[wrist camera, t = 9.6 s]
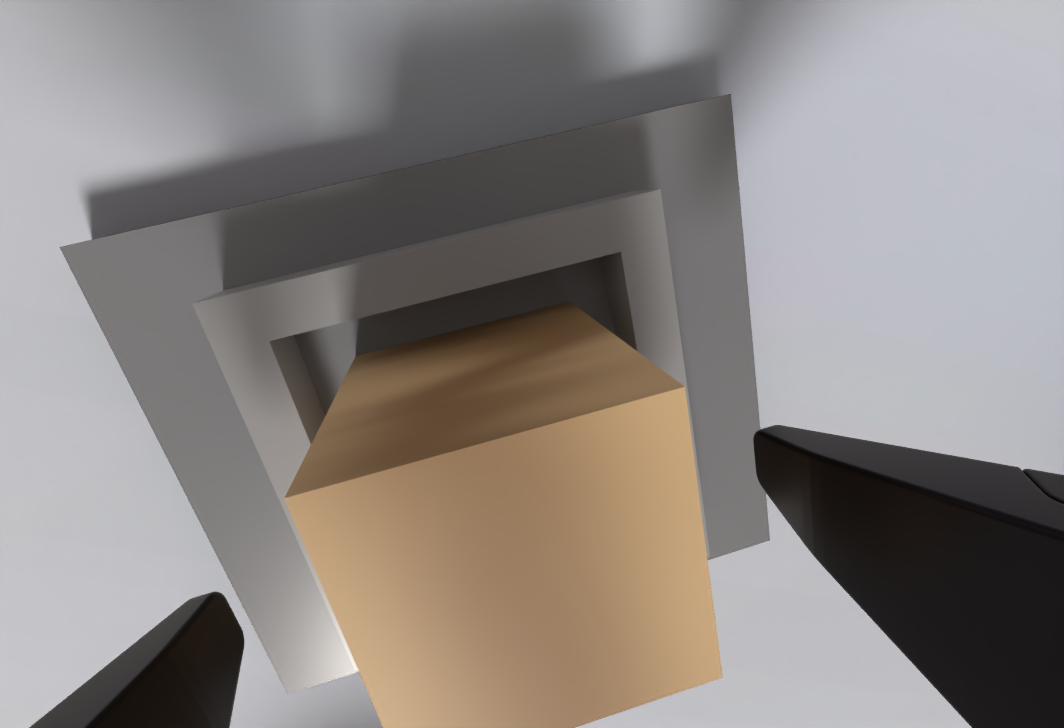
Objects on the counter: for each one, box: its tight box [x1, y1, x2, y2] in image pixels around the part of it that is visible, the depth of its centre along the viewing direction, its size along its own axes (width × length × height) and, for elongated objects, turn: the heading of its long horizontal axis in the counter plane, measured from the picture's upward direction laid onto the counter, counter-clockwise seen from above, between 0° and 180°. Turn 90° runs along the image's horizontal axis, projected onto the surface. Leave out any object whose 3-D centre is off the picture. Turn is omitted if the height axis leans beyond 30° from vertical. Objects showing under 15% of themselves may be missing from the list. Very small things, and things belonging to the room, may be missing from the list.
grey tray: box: [60, 94, 770, 694], centre depth 13 cm, size 14×12×2 cm
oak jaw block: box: [284, 301, 723, 728], centre depth 10 cm, size 5×5×6 cm
